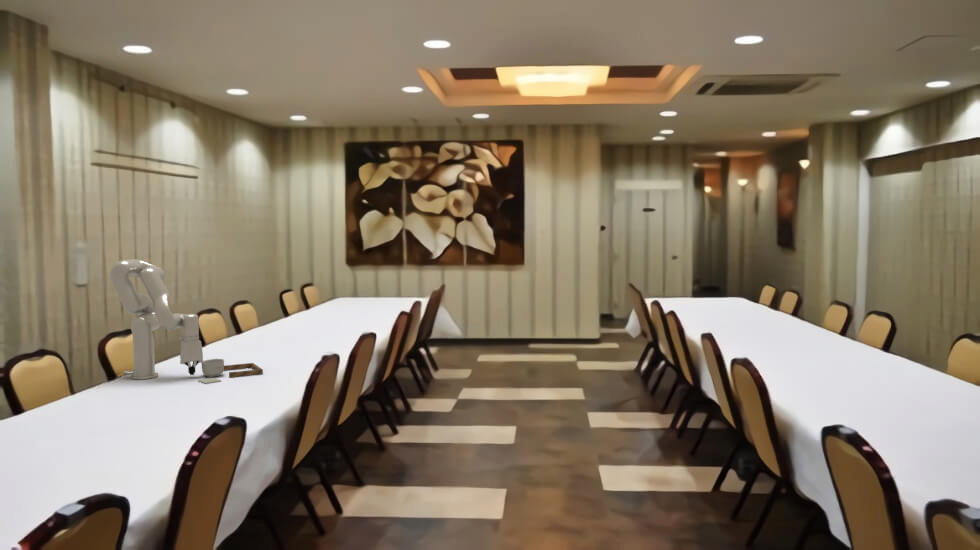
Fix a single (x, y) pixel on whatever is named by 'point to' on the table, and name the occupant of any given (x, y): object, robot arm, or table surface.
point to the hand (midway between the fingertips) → (192, 374)
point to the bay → (255, 371)
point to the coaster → (209, 381)
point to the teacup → (213, 367)
